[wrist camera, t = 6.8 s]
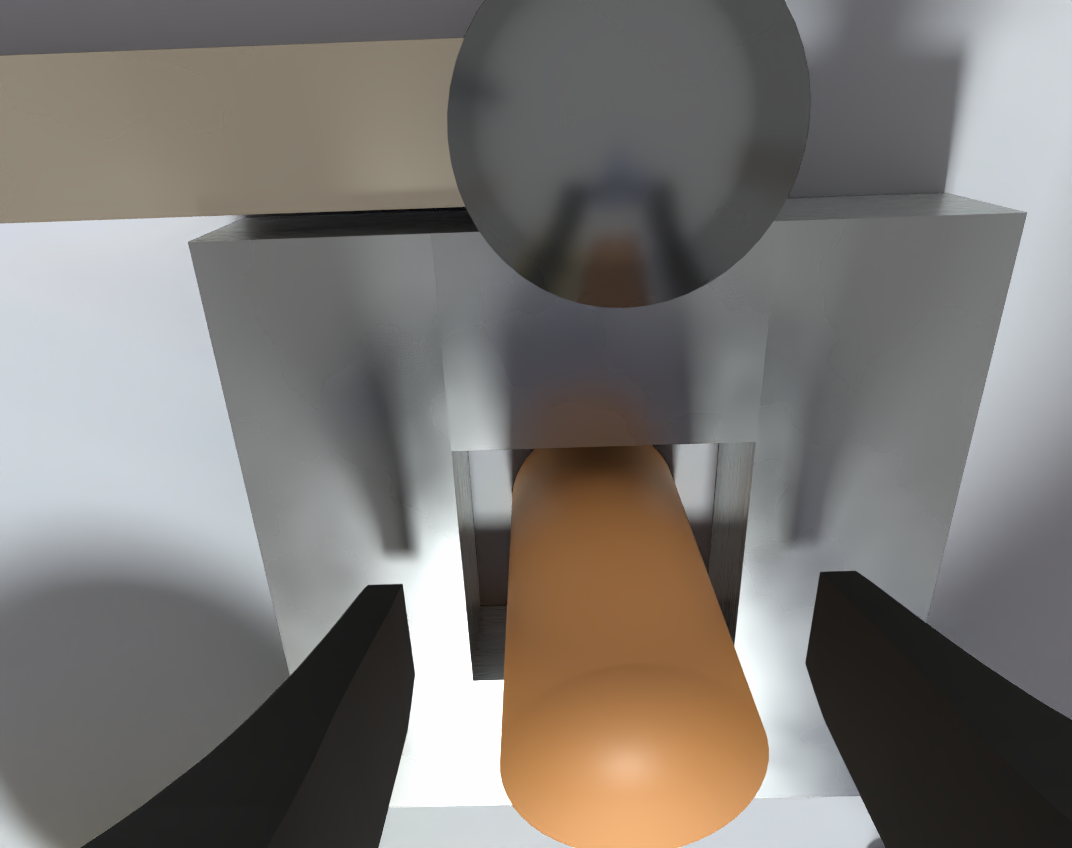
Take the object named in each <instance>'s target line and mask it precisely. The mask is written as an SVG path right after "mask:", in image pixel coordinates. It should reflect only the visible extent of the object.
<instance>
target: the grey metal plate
mask: <svg viewBox="0 0 1072 848" xmlns="http://www.w3.org/2000/svg"><path fill="white" fill-rule="evenodd" d="M810 100H811V99H810V84H809V72H808V67H807V62H806V57H805V52H804V47H803V44H802V41H801V38H800V35H799V32H798V29H797V26H796V23H795V21H794V19H793V17H792V15H791V13H790V11H789V9H788V7H787V5H786V3H785V1H784V0H485V1H484V2H483V4H482V5H481V7H480V8H479V10H478V11H477V13H476V15H475V17H474V19H473V21H472V23H471V25H470V27H469V28H468V30H467V32H466V34H465V37H464V38H444V39H418V40H392V41H366V42H341V43H315V44H289V45H263V46H237V47H211V48H185V49H159V50H133V51H107V52H81V53H55V54H29V55H3V56H0V223H25V222H53V221H81V220H109V219H137V218H165V217H193V216H221V215H249V214H277V213H305V212H333V211H362V210H390V209H418V208H446V207H466V209H467V210H447V211H419V212H391V213H363V214H335V215H306V216H278V217H250V218H243V219H240V220H238V221H236V222H233V223H231V224H229V225H226V226H224V227H222V228H219V229H217V230H215V231H212V232H210V233H208V234H205V235H203V236H201V237H199V238H196V239H194V240H192V241H189V242H188V244H189V248H190V253H191V257H192V261H193V266H194V270H195V274H196V278H197V283H198V287H199V291H200V295H201V300H202V304H203V308H204V312H205V317H206V321H207V325H208V329H209V334H210V338H211V342H212V347H213V351H214V355H215V359H216V364H217V368H218V372H219V376H220V381H221V385H222V389H223V393H224V398H225V402H226V406H227V410H228V415H229V419H230V423H231V427H232V432H233V436H234V440H235V445H236V449H237V453H238V457H239V462H240V466H241V470H242V474H243V479H244V483H245V487H246V491H247V496H248V500H249V504H250V508H251V513H252V517H253V521H254V525H255V530H256V534H257V538H258V543H259V547H260V551H261V555H262V560H263V564H264V568H265V572H266V577H267V581H268V585H269V589H270V594H271V598H272V602H273V606H274V611H275V615H276V619H277V624H278V628H279V632H280V636H281V641H282V645H283V649H284V653H285V658H286V662H287V666H288V670H289V675H291V674H292V673H293V672H294V671H295V670H296V669H297V668H298V667H299V665H300V664H301V663H302V662H303V661H304V660H305V659H306V657H307V656H308V655H309V654H310V653H311V652H312V651H313V649H314V648H315V647H316V646H317V645H318V644H319V643H320V641H321V640H322V639H323V638H324V637H325V635H326V634H327V633H328V632H329V631H330V629H331V628H332V627H333V626H334V625H335V623H336V622H337V621H338V620H339V619H340V617H341V616H342V615H343V614H344V612H345V611H346V610H347V609H348V607H349V606H350V605H351V604H352V602H353V601H354V600H355V599H356V597H357V596H358V595H359V594H360V593H361V591H362V590H363V589H364V588H365V587H366V586H367V585H380V584H403V589H404V597H405V604H406V611H407V619H408V626H409V633H410V640H411V648H412V655H413V662H414V669H415V680H414V688H413V696H412V704H411V711H410V718H409V726H408V732H407V736H406V740H405V744H404V748H403V752H402V756H401V760H400V764H399V768H398V772H397V776H396V780H395V784H394V788H393V792H392V796H391V800H390V804H389V808H395V807H434V806H474V805H512V804H511V802H510V800H509V799H508V797H507V795H506V793H505V790H504V788H503V785H502V781H501V776H500V743H501V722H502V702H503V681H504V660H505V640H506V619H507V606H481V605H480V593H479V581H478V569H477V557H476V545H475V533H474V521H473V509H472V497H471V485H470V473H469V461H468V451H476V450H508V449H540V448H572V447H604V446H635V445H667V444H699V443H719V451H718V464H717V476H716V488H715V500H714V513H713V525H712V537H711V549H710V562H709V574H708V576H709V579H710V581H711V584H712V587H713V589H714V592H715V595H716V598H717V600H718V603H719V606H720V609H721V611H722V614H723V617H724V620H725V622H726V625H727V628H728V630H729V633H730V636H731V639H732V641H733V644H734V647H735V650H736V652H737V655H738V658H739V661H740V663H741V666H742V669H743V672H744V674H745V677H746V680H747V682H748V685H749V688H750V691H751V693H752V696H753V699H754V702H755V704H756V707H757V710H758V713H759V715H760V718H761V721H762V723H763V726H764V729H765V732H766V734H767V739H768V745H769V763H768V767H767V772H766V775H765V778H764V780H763V783H762V785H761V787H760V789H759V791H758V792H757V794H756V796H755V797H754V798H792V797H831V796H860V794H859V792H858V790H857V788H856V786H855V784H854V782H853V779H852V777H851V775H850V773H849V771H848V769H847V767H846V765H845V763H844V761H843V759H842V757H841V755H840V753H839V750H838V748H837V746H836V744H835V742H834V740H833V738H832V736H831V734H830V732H829V729H828V727H827V725H826V723H825V721H824V718H823V716H822V713H821V710H820V707H819V704H818V701H817V698H816V696H815V693H814V689H813V686H812V683H811V680H810V677H809V674H808V671H807V667H806V664H805V662H806V655H807V649H808V643H809V637H810V631H811V624H812V618H813V612H814V606H815V599H816V593H817V587H818V581H819V575H820V572H827V571H857V572H858V573H860V574H861V575H863V576H864V577H866V578H867V579H868V580H870V581H871V582H873V583H874V584H875V585H877V586H878V587H879V588H881V589H882V590H883V591H885V592H886V593H887V594H889V595H890V596H891V597H893V598H894V599H895V600H896V601H898V602H899V603H900V604H902V605H903V606H904V607H906V608H907V609H908V610H910V611H911V612H912V613H914V614H915V615H916V616H918V617H919V618H920V619H922V620H923V621H924V622H927V618H928V614H929V609H930V605H931V601H932V597H933V593H934V589H935V585H936V581H937V577H938V573H939V569H940V565H941V561H942V557H943V553H944V548H945V544H946V540H947V536H948V532H949V528H950V524H951V520H952V516H953V512H954V508H955V504H956V500H957V496H958V492H959V487H960V483H961V479H962V475H963V471H964V467H965V463H966V459H967V455H968V451H969V447H970V443H971V439H972V435H973V431H974V426H975V422H976V418H977V414H978V410H979V406H980V402H981V398H982V394H983V390H984V386H985V382H986V378H987V374H988V370H989V365H990V361H991V357H992V353H993V349H994V345H995V341H996V337H997V333H998V329H999V325H1000V321H1001V317H1002V313H1003V309H1004V305H1005V300H1006V296H1007V292H1008V288H1009V284H1010V280H1011V276H1012V272H1013V268H1014V264H1015V260H1016V256H1017V252H1018V248H1019V244H1020V239H1021V235H1022V231H1023V227H1024V223H1025V219H1026V215H1027V212H1023V211H1019V210H1015V209H1011V208H1006V207H1002V206H998V205H994V204H990V203H986V202H982V201H978V200H974V199H969V198H965V197H961V196H957V195H953V194H949V193H925V194H897V195H869V196H841V197H813V198H788V195H789V193H790V191H791V188H792V186H793V184H794V182H795V179H796V177H797V174H798V171H799V168H800V164H801V161H802V158H803V154H804V151H805V146H806V140H807V134H808V129H809V118H810Z"/></svg>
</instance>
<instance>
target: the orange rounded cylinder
mask: <svg viewBox="0 0 1072 848" xmlns="http://www.w3.org/2000/svg"><path fill="white" fill-rule="evenodd" d="M768 763H769V745H768V739H767V734H766V732H765V729H764V726H763V723H762V721H761V718H760V715H759V713H758V710H757V707H756V704H755V702H754V699H753V696H752V693H751V691H750V688H749V685H748V682H747V680H746V677H745V674H744V672H743V669H742V666H741V663H740V661H739V658H738V655H737V652H736V650H735V647H734V644H733V641H732V639H731V636H730V633H729V630H728V628H727V625H726V622H725V620H724V617H723V614H722V611H721V609H720V606H719V603H718V600H717V598H716V595H715V592H714V589H713V587H712V584H711V581H710V579H709V576H708V573H707V570H706V568H705V565H704V562H703V559H702V557H701V554H700V551H699V548H698V546H697V543H696V540H695V538H694V535H693V532H692V529H691V527H690V524H689V521H688V518H687V516H686V513H685V510H684V507H683V505H682V502H681V499H680V497H679V494H678V491H677V488H676V486H675V483H674V480H673V477H672V475H671V472H670V469H669V467H668V465H667V463H666V461H665V459H664V458H663V457H662V455H661V454H660V453H659V451H658V450H657V449H656V448H654V447H653V446H652V445H635V446H604V447H572V448H540V449H534V450H533V451H532V452H531V453H530V454H529V456H528V457H527V458H526V459H525V461H524V462H523V464H522V465H521V467H520V469H519V471H518V473H517V476H516V479H515V482H514V487H513V495H512V516H511V537H510V557H509V578H508V599H507V619H506V640H505V660H504V681H503V702H502V722H501V743H500V776H501V781H502V785H503V788H504V790H505V793H506V795H507V797H508V799H509V800H510V802H511V804H512V805H513V807H514V808H515V809H516V811H517V812H518V813H519V814H520V815H521V817H523V818H524V819H525V820H526V821H527V822H528V823H529V824H530V825H531V826H533V827H534V828H536V829H537V830H539V831H540V832H542V833H543V834H545V835H547V836H549V837H550V838H552V839H554V840H556V841H559V842H561V843H564V844H566V845H569V846H572V847H575V848H678V847H682V846H684V845H687V844H690V843H693V842H695V841H698V840H700V839H702V838H704V837H706V836H709V835H711V834H712V833H714V832H716V831H717V830H719V829H721V828H722V827H724V826H725V825H727V824H728V823H729V822H731V821H732V820H733V819H735V818H736V817H737V816H738V815H739V814H740V813H741V812H742V811H743V810H744V809H745V808H746V807H747V806H748V805H749V803H750V802H751V801H752V800H753V798H754V797H755V796H756V794H757V792H758V791H759V789H760V787H761V785H762V783H763V780H764V778H765V775H766V772H767V767H768Z"/></svg>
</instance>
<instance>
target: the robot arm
mask: <svg viewBox="0 0 1072 848" xmlns="http://www.w3.org/2000/svg"><path fill="white" fill-rule="evenodd" d="M805 664H806V667H807V671H808V674H809V677H810V680H811V683H812V686H813V689H814V693H815V696H816V698H817V701H818V704H819V707H820V710H821V713H822V716H823V718H824V721H825V723H826V725H827V727H828V729H829V732H830V734H831V736H832V738H833V740H834V742H835V744H836V746H837V748H838V750H839V753H840V755H841V757H842V759H843V761H844V763H845V765H846V767H847V769H848V771H849V773H850V775H851V777H852V779H853V782H854V784H855V786H856V788H857V790H858V792H859V794H860V796H861V798H862V800H863V802H864V804H865V806H866V808H867V810H868V812H869V814H870V816H871V819H872V821H873V823H874V825H875V827H876V829H877V831H878V833H879V835H880V837H881V839H882V841H883V843H884V845H885V847H886V848H1072V720H1071V719H1069V718H1067V717H1066V716H1064V715H1062V714H1060V713H1059V712H1057V711H1055V710H1054V709H1052V708H1050V707H1049V706H1047V705H1045V704H1044V703H1042V702H1040V701H1039V700H1037V699H1036V698H1034V697H1032V696H1031V695H1029V694H1028V693H1026V692H1025V691H1023V690H1021V689H1020V688H1018V687H1017V686H1015V685H1014V684H1012V683H1011V682H1009V681H1008V680H1006V679H1005V678H1003V677H1002V676H1000V675H999V674H997V673H996V672H994V671H993V670H991V669H990V668H988V667H987V666H985V665H984V664H982V663H981V662H980V661H978V660H977V659H975V658H974V657H972V656H971V655H969V654H968V653H967V652H965V651H964V650H962V649H961V648H960V647H958V646H957V645H955V644H954V643H953V642H951V641H950V640H949V639H947V638H946V637H944V636H943V635H942V634H940V633H939V632H938V631H936V630H935V629H934V628H932V627H931V626H930V625H928V624H927V623H926V622H924V621H923V620H922V619H920V618H919V617H918V616H916V615H915V614H914V613H912V612H911V611H910V610H908V609H907V608H906V607H904V606H903V605H902V604H900V603H899V602H898V601H896V600H895V599H894V598H893V597H891V596H890V595H889V594H887V593H886V592H885V591H883V590H882V589H881V588H879V587H878V586H877V585H875V584H874V583H873V582H871V581H870V580H868V579H867V578H866V577H864V576H863V575H861V574H860V573H858V572H857V571H827V572H820V575H819V581H818V587H817V593H816V599H815V606H814V612H813V618H812V624H811V631H810V637H809V643H808V649H807V655H806V662H805ZM414 680H415V669H414V662H413V655H412V648H411V640H410V633H409V626H408V619H407V611H406V604H405V597H404V589H403V584H380V585H367V586H366V587H365V588H364V589H363V590H362V591H361V593H360V594H359V595H358V596H357V597H356V599H355V600H354V601H353V602H352V604H351V605H350V606H349V607H348V609H347V610H346V611H345V612H344V614H343V615H342V616H341V617H340V619H339V620H338V621H337V622H336V623H335V625H334V626H333V627H332V628H331V629H330V631H329V632H328V633H327V634H326V635H325V637H324V638H323V639H322V640H321V641H320V643H319V644H318V645H317V646H316V647H315V648H314V649H313V651H312V652H311V653H310V654H309V655H308V656H307V657H306V659H305V660H304V661H303V662H302V663H301V664H300V665H299V667H298V668H297V669H296V670H295V671H294V672H293V673H292V674H291V675H290V676H289V677H288V678H287V680H286V681H285V682H284V683H283V684H282V685H281V686H280V687H279V688H278V689H277V690H276V691H275V692H274V693H273V694H272V695H271V696H270V697H269V698H268V699H267V700H266V701H265V702H264V703H263V704H262V705H261V706H260V707H259V708H258V709H257V710H256V711H255V712H254V713H253V714H252V715H251V716H250V717H249V718H248V719H247V720H246V721H245V722H244V723H243V724H242V725H241V726H240V727H239V728H238V729H236V730H235V731H234V732H233V733H232V734H231V735H230V736H229V737H228V738H227V739H225V740H224V741H223V742H222V743H221V744H220V745H219V746H218V747H216V748H215V749H214V750H213V751H212V752H211V753H210V754H208V755H207V756H206V757H205V758H204V759H202V760H201V761H200V762H199V763H197V764H196V765H195V766H194V767H192V768H191V769H190V770H188V771H187V772H186V773H184V774H183V775H182V776H181V777H179V778H178V779H177V780H175V781H174V782H173V783H172V784H170V785H169V786H168V787H166V788H165V789H164V790H162V791H161V792H160V793H159V794H157V795H156V796H155V797H153V798H152V799H151V800H150V801H148V802H147V803H146V804H144V805H143V806H141V807H140V808H139V809H137V810H136V811H134V812H133V813H131V814H130V815H129V816H127V817H126V818H124V819H123V820H121V821H120V822H119V823H117V824H116V825H114V826H113V827H111V828H110V829H108V830H107V831H105V832H104V833H102V834H101V835H99V836H98V837H96V838H95V839H93V840H92V841H90V842H89V843H87V844H86V845H84V846H83V847H81V848H378V847H379V843H380V839H381V835H382V831H383V827H384V823H385V819H386V815H387V811H388V808H389V804H390V800H391V796H392V792H393V788H394V784H395V780H396V776H397V772H398V768H399V764H400V760H401V756H402V752H403V748H404V744H405V740H406V736H407V732H408V726H409V718H410V711H411V704H412V696H413V688H414Z"/></svg>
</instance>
